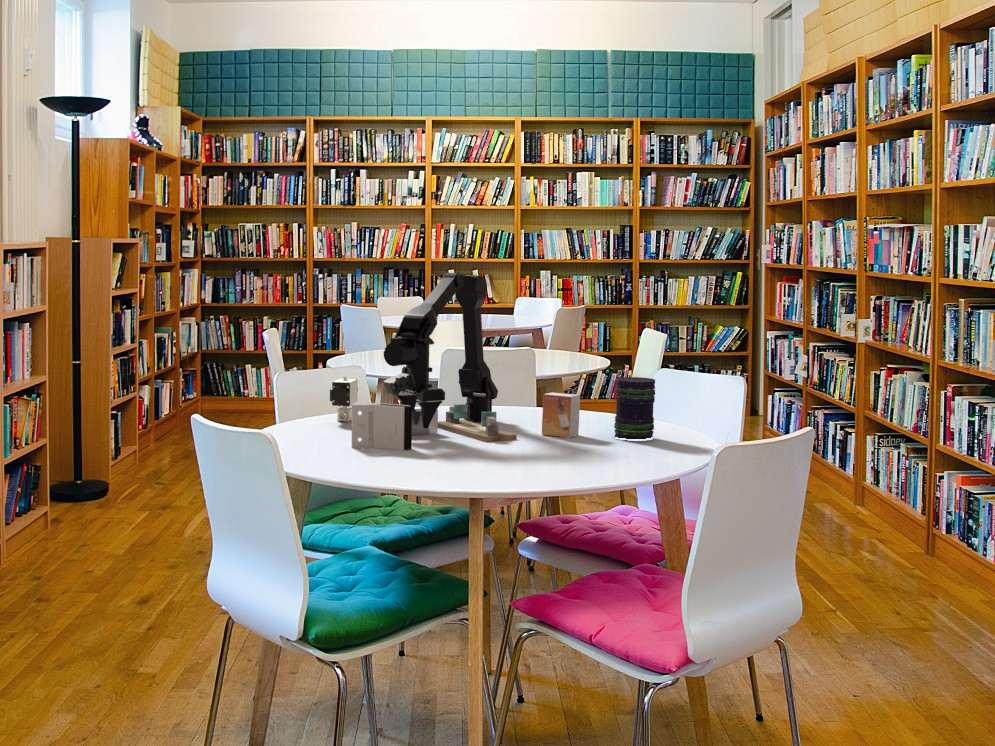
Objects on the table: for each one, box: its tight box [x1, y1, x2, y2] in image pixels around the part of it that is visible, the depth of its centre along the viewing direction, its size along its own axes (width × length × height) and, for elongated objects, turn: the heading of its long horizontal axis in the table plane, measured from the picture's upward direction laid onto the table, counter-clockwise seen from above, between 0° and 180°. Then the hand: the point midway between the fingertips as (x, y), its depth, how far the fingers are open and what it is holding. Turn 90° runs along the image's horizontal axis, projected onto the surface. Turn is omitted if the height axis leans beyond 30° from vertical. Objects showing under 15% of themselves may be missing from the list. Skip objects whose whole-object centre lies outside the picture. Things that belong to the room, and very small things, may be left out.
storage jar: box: [613, 376, 656, 439], centre depth 267 cm, size 10×10×15 cm
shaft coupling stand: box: [438, 403, 518, 443], centre depth 271 cm, size 9×26×6 cm, turn 32°
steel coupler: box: [412, 408, 439, 437], centre depth 268 cm, size 10×4×6 cm, turn 122°
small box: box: [541, 391, 581, 438], centre depth 270 cm, size 8×6×10 cm
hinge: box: [351, 402, 413, 451], centre depth 248 cm, size 14×5×10 cm, turn 80°
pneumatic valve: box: [329, 375, 359, 423], centre depth 286 cm, size 6×12×12 cm, turn 174°
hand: (416, 425), depth 268 cm, fingers open, 9 cm apart
